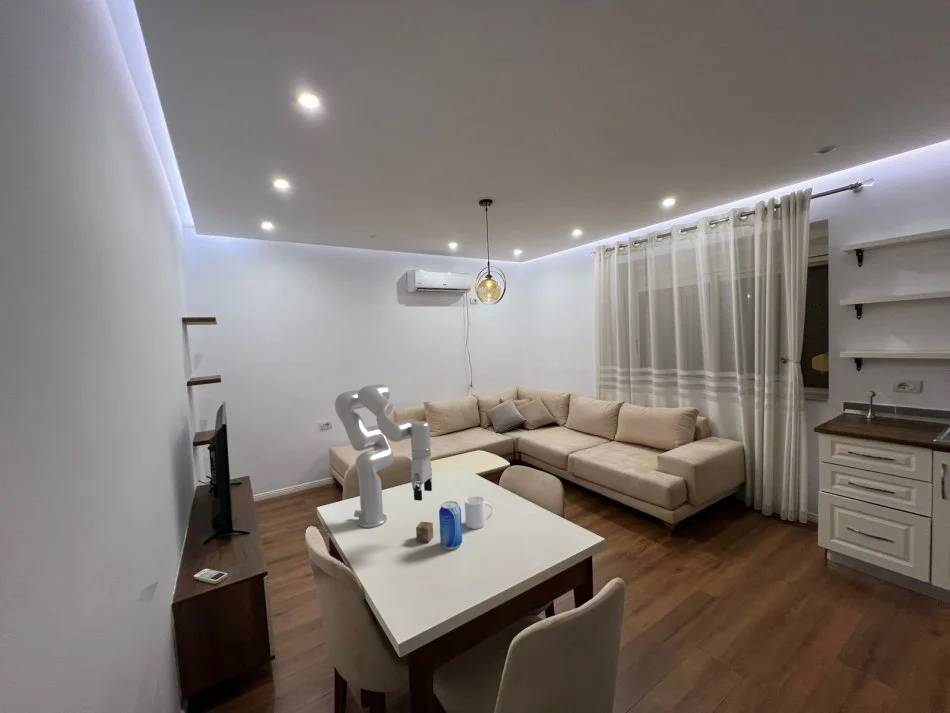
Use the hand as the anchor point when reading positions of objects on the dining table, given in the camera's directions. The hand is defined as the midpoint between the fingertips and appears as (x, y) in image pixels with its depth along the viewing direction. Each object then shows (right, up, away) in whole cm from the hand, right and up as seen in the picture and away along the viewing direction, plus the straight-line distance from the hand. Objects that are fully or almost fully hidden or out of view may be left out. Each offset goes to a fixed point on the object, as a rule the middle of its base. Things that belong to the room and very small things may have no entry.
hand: (423, 495), depth 154 cm
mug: (+23, -17, +12) cm, 31 cm away
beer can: (+12, -18, -5) cm, 22 cm away
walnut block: (+1, -18, +1) cm, 18 cm away
